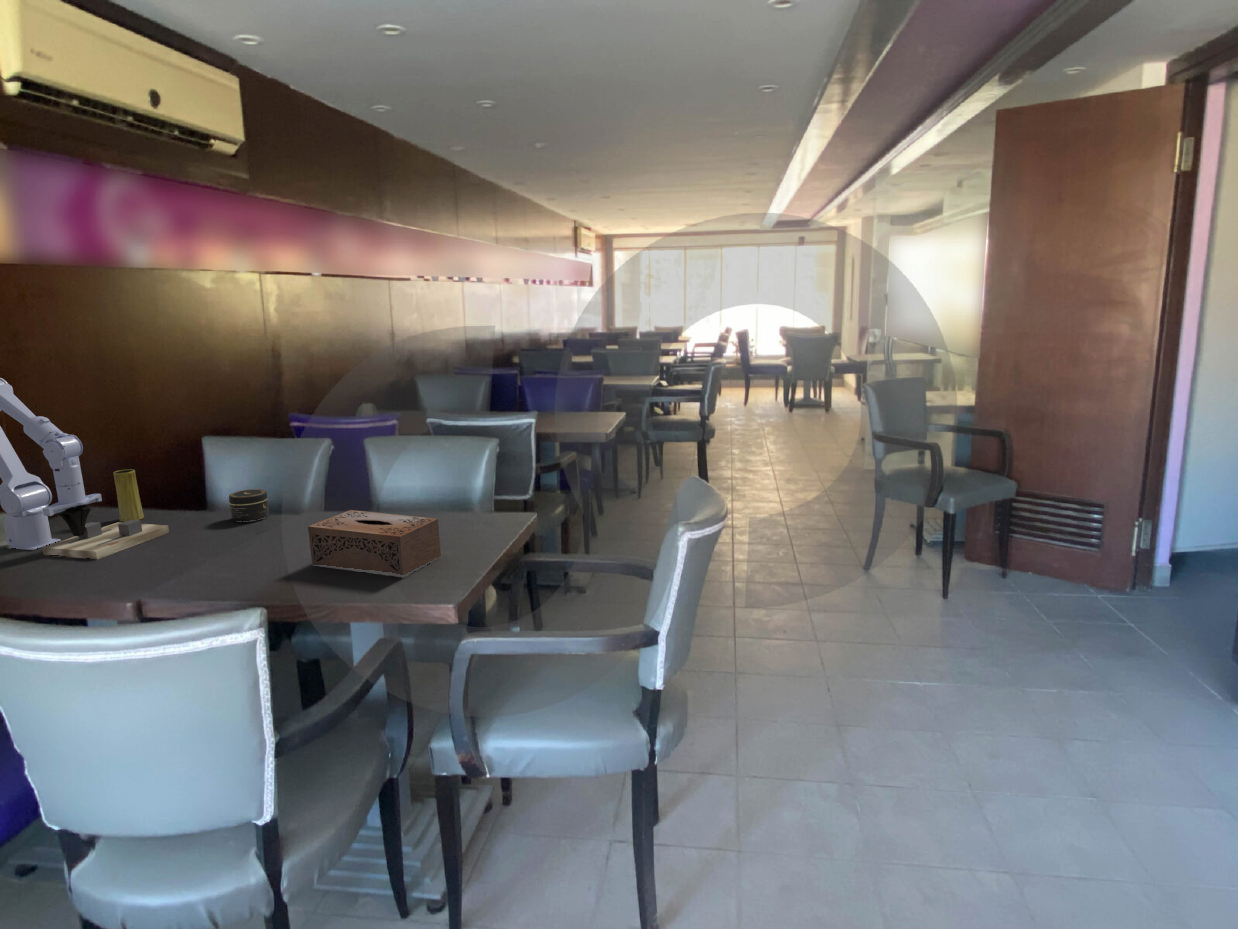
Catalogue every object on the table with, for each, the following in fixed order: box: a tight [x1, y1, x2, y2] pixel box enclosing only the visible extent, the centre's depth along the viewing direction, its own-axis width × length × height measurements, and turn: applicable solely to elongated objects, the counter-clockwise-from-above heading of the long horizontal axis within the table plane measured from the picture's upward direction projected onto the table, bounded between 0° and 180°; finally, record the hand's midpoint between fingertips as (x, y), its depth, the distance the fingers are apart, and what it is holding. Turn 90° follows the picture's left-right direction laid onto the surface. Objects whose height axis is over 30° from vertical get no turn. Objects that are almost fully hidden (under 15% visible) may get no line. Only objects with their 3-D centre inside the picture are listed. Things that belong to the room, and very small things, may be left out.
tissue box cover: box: [307, 509, 442, 575], centre depth 184 cm, size 26×14×10 cm, turn 68°
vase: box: [113, 468, 145, 523], centre depth 225 cm, size 6×6×14 cm
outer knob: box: [118, 519, 142, 536], centre depth 205 cm, size 3×4×3 cm
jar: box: [228, 488, 270, 522], centre depth 223 cm, size 10×10×8 cm
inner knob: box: [79, 521, 102, 538], centre depth 204 cm, size 3×4×3 cm
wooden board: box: [41, 521, 170, 560], centre depth 204 cm, size 17×22×2 cm
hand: (78, 535), depth 201 cm, fingers closed
